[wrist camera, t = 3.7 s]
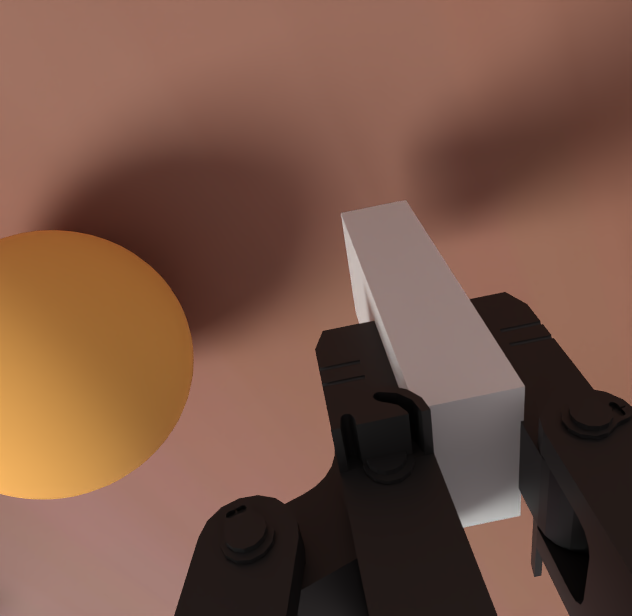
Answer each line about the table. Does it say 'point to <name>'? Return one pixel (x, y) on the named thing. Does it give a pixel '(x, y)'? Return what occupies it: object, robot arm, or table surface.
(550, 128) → the table surface
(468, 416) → the robot arm
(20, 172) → the table surface
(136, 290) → the ball
